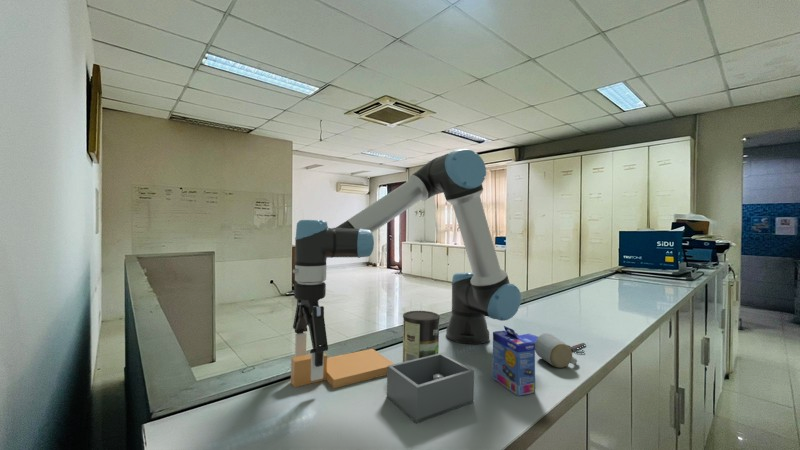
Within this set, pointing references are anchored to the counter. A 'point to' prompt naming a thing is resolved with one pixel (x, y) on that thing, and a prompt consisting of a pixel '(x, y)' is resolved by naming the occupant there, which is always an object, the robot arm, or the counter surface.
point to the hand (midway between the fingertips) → (308, 368)
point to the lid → (341, 368)
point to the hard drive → (530, 337)
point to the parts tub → (429, 386)
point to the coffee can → (420, 334)
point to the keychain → (577, 347)
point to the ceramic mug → (554, 351)
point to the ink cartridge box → (514, 361)
